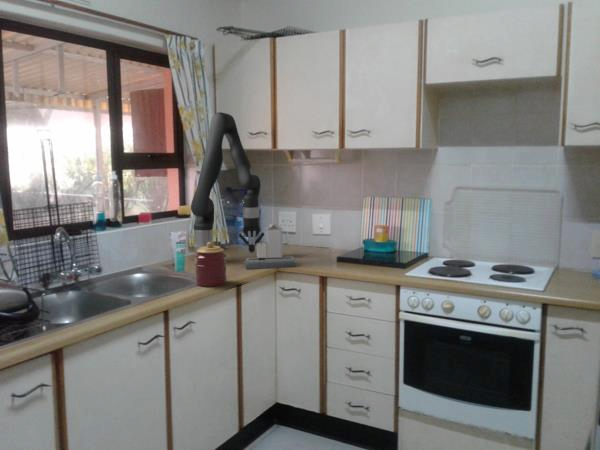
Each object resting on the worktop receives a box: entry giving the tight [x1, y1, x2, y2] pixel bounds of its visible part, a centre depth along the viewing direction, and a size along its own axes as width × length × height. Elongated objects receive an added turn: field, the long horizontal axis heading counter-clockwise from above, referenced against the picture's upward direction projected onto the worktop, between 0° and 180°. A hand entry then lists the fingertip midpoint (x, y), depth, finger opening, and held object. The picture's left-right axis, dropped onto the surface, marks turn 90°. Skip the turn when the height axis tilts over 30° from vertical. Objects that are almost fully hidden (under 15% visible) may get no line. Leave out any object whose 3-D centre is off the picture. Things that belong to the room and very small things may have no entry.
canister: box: [194, 242, 228, 288], centre depth 218 cm, size 13×13×18 cm
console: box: [243, 255, 297, 270], centre depth 255 cm, size 24×12×4 cm, turn 101°
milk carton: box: [266, 220, 284, 257], centre depth 276 cm, size 7×7×19 cm
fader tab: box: [256, 242, 267, 260], centre depth 254 cm, size 4×5×9 cm
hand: (251, 252), depth 253 cm, fingers closed
